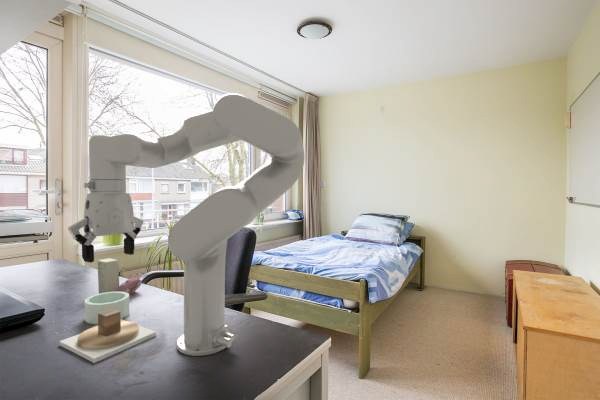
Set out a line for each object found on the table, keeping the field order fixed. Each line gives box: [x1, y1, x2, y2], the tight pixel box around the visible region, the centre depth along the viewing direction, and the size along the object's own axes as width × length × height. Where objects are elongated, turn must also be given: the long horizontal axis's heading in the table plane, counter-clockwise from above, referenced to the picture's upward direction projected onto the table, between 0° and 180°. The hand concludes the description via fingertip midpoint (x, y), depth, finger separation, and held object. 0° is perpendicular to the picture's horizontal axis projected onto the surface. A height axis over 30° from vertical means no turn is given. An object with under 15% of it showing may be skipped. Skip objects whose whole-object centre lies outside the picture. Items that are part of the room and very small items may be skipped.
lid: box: [77, 309, 140, 349], centre depth 79 cm, size 13×13×6 cm
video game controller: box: [113, 277, 143, 295], centre depth 112 cm, size 10×5×7 cm, turn 169°
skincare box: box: [97, 257, 120, 294], centre depth 112 cm, size 6×4×12 cm
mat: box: [59, 319, 157, 364], centre depth 79 cm, size 15×15×1 cm
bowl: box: [83, 292, 130, 325], centre depth 93 cm, size 11×11×6 cm
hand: (109, 257), depth 78 cm, fingers open, 9 cm apart
